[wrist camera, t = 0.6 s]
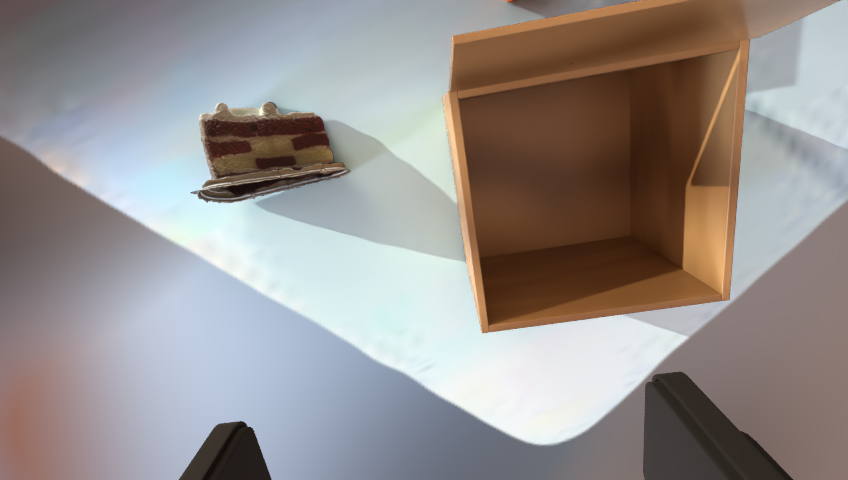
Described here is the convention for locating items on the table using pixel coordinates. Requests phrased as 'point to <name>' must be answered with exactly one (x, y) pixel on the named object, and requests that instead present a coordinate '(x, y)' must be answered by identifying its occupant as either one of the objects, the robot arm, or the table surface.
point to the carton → (600, 187)
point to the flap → (613, 36)
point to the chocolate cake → (263, 152)
